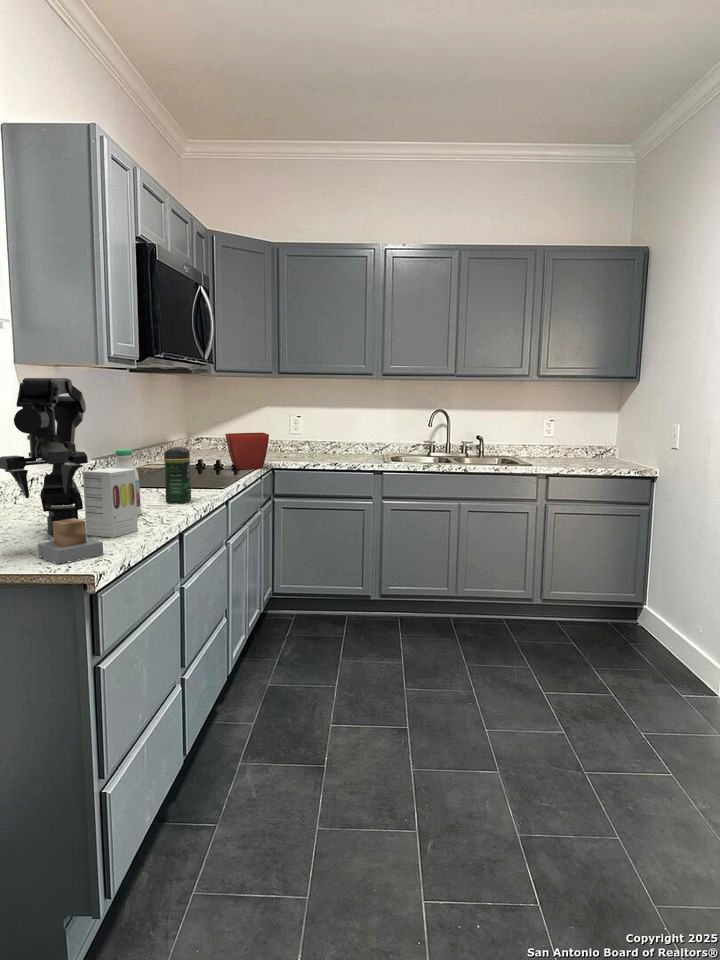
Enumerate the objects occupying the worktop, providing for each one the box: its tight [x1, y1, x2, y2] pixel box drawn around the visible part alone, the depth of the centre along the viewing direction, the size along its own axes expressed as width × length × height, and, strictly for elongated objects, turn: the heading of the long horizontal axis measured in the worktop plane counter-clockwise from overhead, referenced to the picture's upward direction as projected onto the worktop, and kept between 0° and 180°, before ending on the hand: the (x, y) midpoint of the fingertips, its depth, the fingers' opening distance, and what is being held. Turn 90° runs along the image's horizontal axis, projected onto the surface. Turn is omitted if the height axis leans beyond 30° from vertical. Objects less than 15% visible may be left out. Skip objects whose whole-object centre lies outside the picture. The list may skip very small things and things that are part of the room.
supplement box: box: [82, 467, 139, 539], centre depth 164 cm, size 10×9×17 cm
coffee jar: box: [163, 446, 192, 504], centre depth 211 cm, size 10×8×19 cm
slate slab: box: [37, 536, 104, 564], centre depth 141 cm, size 10×10×3 cm
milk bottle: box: [114, 448, 142, 517], centre depth 187 cm, size 8×8×20 cm
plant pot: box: [225, 432, 270, 470], centre depth 306 cm, size 19×19×17 cm
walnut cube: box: [52, 518, 87, 547], centre depth 141 cm, size 5×5×5 cm
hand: (47, 495), depth 151 cm, fingers open, 9 cm apart
